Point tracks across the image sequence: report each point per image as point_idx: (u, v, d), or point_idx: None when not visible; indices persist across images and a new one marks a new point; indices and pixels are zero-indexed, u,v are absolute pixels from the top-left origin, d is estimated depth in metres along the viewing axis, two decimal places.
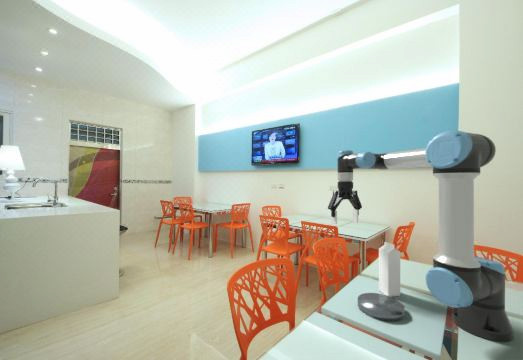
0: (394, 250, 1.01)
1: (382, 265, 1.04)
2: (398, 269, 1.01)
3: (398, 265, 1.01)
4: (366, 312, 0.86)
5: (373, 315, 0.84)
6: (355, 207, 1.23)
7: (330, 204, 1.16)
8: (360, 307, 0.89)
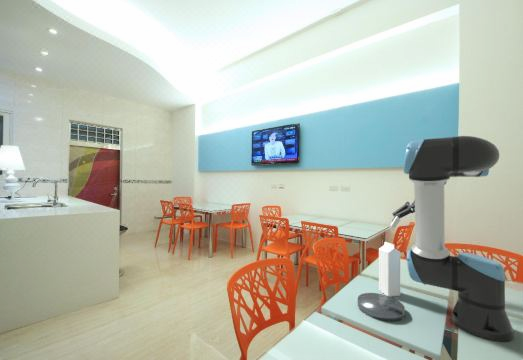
0: (394, 250, 1.01)
1: (382, 265, 1.04)
2: (398, 269, 1.01)
3: (398, 265, 1.01)
4: (366, 312, 0.86)
5: (373, 315, 0.84)
6: None
7: None
8: (360, 307, 0.89)
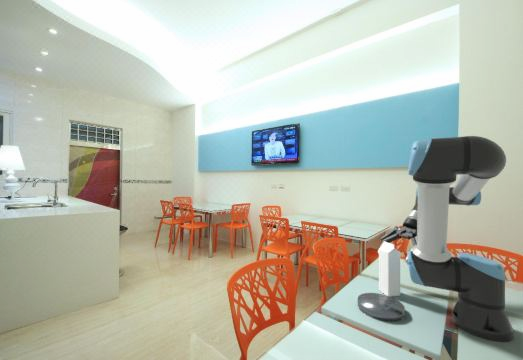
0: (394, 250, 1.01)
1: (382, 265, 1.04)
2: (398, 269, 1.01)
3: (398, 265, 1.01)
4: (366, 312, 0.86)
5: (373, 315, 0.84)
6: None
7: None
8: (360, 307, 0.89)
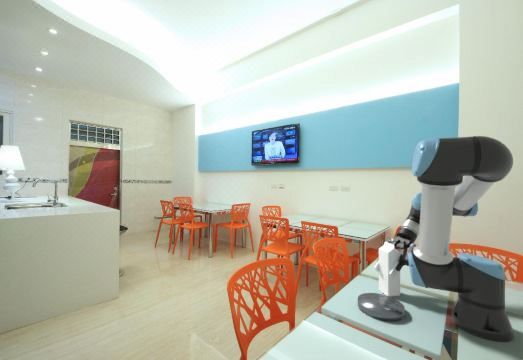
0: (394, 250, 1.01)
1: (382, 265, 1.04)
2: None
3: None
4: (366, 312, 0.86)
5: (373, 315, 0.84)
6: None
7: None
8: (360, 307, 0.89)
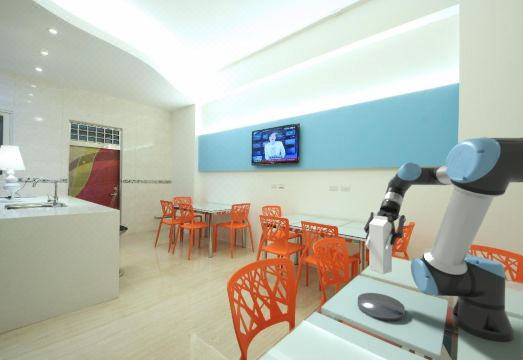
0: (387, 223, 0.93)
1: (374, 241, 0.94)
2: None
3: None
4: (366, 312, 0.86)
5: (373, 315, 0.84)
6: None
7: None
8: (360, 307, 0.89)
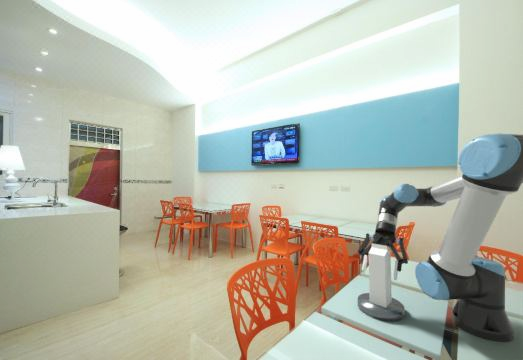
0: (387, 252, 0.89)
1: (375, 272, 0.89)
2: (390, 273, 0.90)
3: (390, 268, 0.90)
4: (366, 312, 0.86)
5: (373, 315, 0.84)
6: None
7: None
8: (360, 307, 0.89)
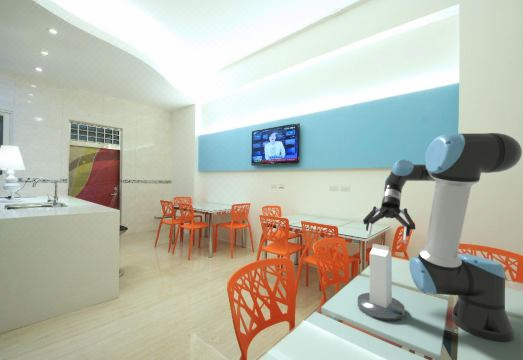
0: (388, 253, 0.89)
1: (375, 272, 0.89)
2: (390, 273, 0.90)
3: (390, 269, 0.90)
4: (366, 312, 0.86)
5: (373, 315, 0.84)
6: None
7: None
8: (360, 307, 0.89)
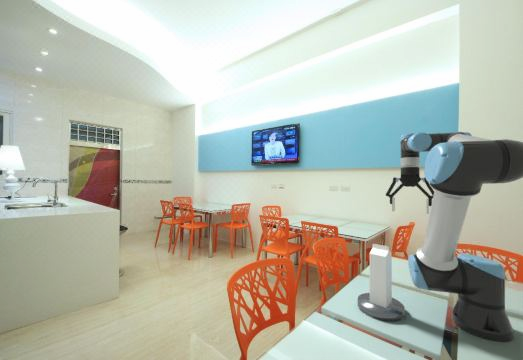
0: (388, 253, 0.89)
1: (375, 272, 0.89)
2: (390, 273, 0.90)
3: (390, 269, 0.90)
4: (366, 312, 0.86)
5: (373, 315, 0.84)
6: None
7: (387, 191, 1.16)
8: (360, 307, 0.89)
